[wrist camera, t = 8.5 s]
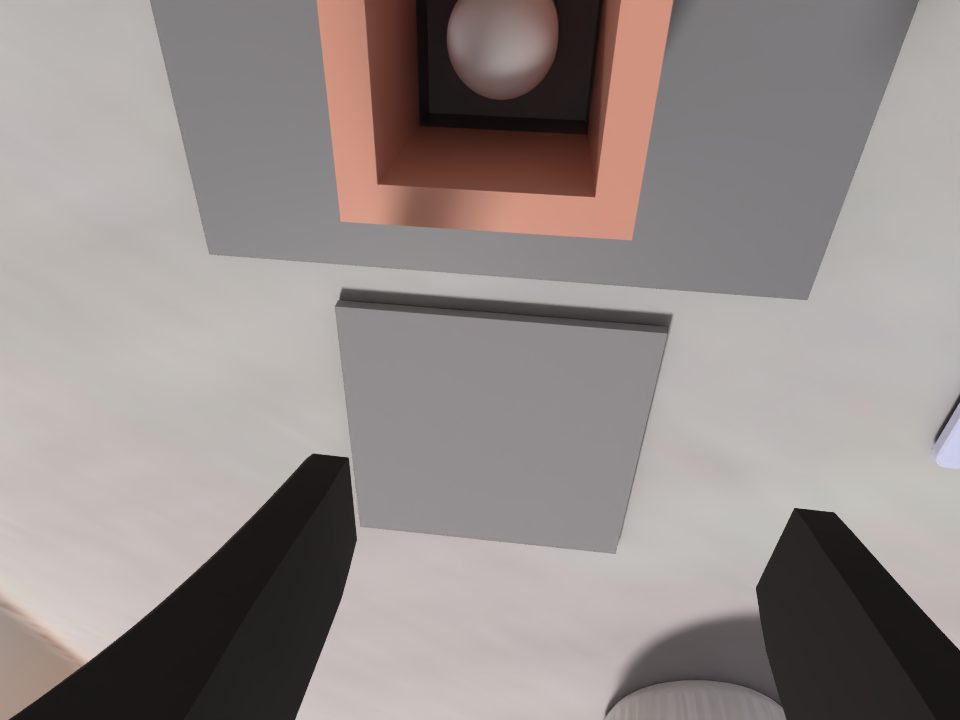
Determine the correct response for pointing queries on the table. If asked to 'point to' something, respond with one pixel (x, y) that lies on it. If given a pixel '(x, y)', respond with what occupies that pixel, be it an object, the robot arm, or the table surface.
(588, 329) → the mat
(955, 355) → the table surface
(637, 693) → the ramekin
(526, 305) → the table surface
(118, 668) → the robot arm
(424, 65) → the sleeve
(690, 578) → the table surface
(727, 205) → the pin board
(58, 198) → the table surface
